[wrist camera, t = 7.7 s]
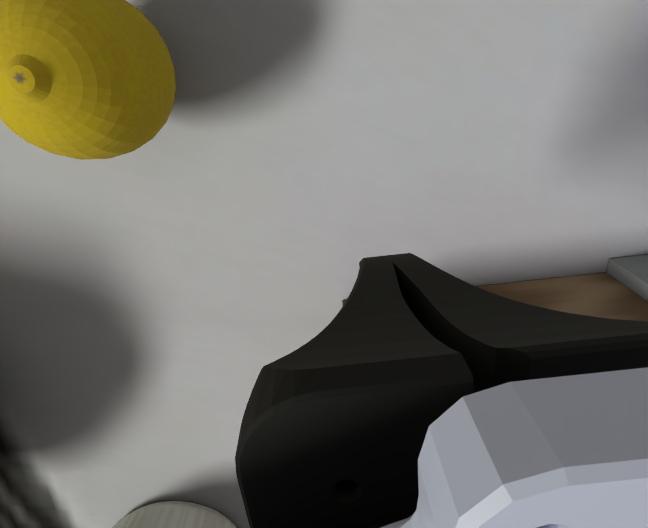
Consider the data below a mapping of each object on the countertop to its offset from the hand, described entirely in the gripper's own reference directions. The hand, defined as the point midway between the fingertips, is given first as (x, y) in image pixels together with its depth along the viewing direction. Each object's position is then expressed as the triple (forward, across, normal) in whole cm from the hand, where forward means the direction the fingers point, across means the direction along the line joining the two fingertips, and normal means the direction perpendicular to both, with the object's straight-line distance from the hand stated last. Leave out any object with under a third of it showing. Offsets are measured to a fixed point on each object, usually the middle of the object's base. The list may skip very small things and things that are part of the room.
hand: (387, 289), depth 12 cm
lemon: (+11, +9, -6) cm, 15 cm away
